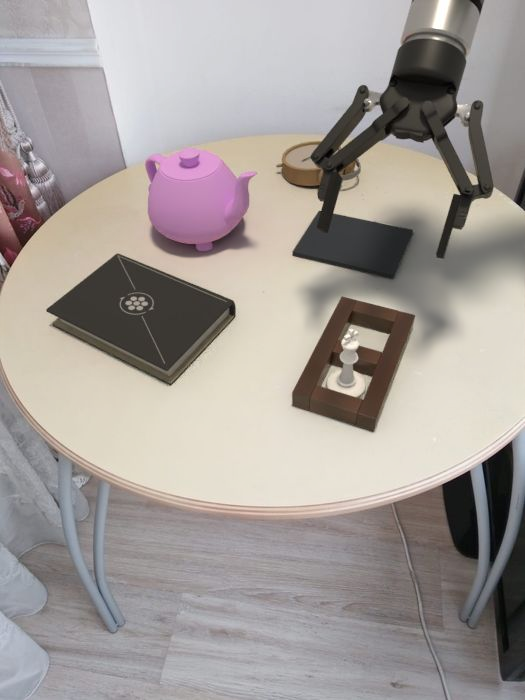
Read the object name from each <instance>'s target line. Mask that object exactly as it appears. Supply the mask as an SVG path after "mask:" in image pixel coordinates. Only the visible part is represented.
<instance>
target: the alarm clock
mask: <svg viewBox="0 0 525 700" xmlns="http://www.w3.org/2000/svg"><path fill="white" fill-rule="evenodd" d="M321 142H322V140H312V141H305V142H300V143H298V144H295V145H293V146H290V147H289V148H287V149H286V150H285V151H284V152H283V153H282V155H281V163H278V164H276V165H275V166H276V168H282V175H283V177H284V179H285V180H286V181H288V182H289V183H292V184H293V185H297V186H298V185H299V186H305V187H312V186H313V187H315V186H316V187H317V186H320V182H321V178H322V174H323V170H322V169H320V168H318V167H317V166H316V165H315V164H314V162H313V161H312V160H311V154H312V153H313V151H314V150H315V149H316V148H317V147H318V145H319V144H320V143H321ZM342 148H343V147H342V146H340V147H339V148H338V150H337V151H336V152H335V153H337V152H338V151H339V150H340V149H342ZM335 153H334V154H335ZM334 154H333V155H334ZM356 167H357V169H356V170H355V168H356ZM361 170H362V165H361V162H360V160H359V158H357V159H356V160H355V161H353V162H352V163H351V164H350V165H348V166H347V167H346V168H344V169H343V170H342V171H341V172H339V174H340V176H341V177H342V182H343V181H349V180H352V179H354V178H356V177H358V176H359V175H360V174H361Z"/></svg>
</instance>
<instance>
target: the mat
mask: <svg viewBox="0 0 525 700" xmlns="http://www.w3.org/2000/svg"><path fill="white" fill-rule="evenodd" d="M320 213H321V210H318V211H317V213H316V215H314V217H313V219H312V220H311V222H310V223H309V225H308V227H307V228H306V230H305V231H304V233H303V234H302V236H301V237H300V239H299V241H298V242H297V244H296V245H295V246H294V248H293V250H292V256H293V257H297V258H302V259H305V260H310V261H314V262H319V263H322V264H326V265H330V266H335V267H340V268H344V269H347V270H352V271H357V272H361V273H366V274H370V275H374V276H378V277H382V278H387V279H391V280H394V278H395V276H396V274H397V272H398V269H399V267H400V264H401V262H402V261H403V257H404V255H405V253H406V251H407V250H408V246H409V244H410V242H411V240H412V238H413V235H414V229H410V228H407V227H402V226H397V225H391V224H387V223H383V222H377V221H372V220H368V219H362V218H357V217H353V216H348V215H343V214H338V213H334V212H333V216H332V220H331V223H330V227H329V231H328V233H324V232H321V231H320V230H319V229H318V228H317V224H318V220H319V217H320Z"/></svg>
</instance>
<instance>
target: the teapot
mask: <svg viewBox="0 0 525 700" xmlns="http://www.w3.org/2000/svg"><path fill="white" fill-rule="evenodd" d="M156 164H157V165H158V168H157V165H156ZM144 165H145V171H146V173H147V174H146V175H147V177H148V179H149V182H150V184H149V186H148V197H147V215H148V218H149V221H150V224H151V225H152V227H154V229H155V230H156V231H157V232H159V233H160V234H161V235H163V236H164V238H166V239H169V240H172V241H175V242H178V243H182V244H189V245H195V249H196V250H197V251H199V252H207V251H211V249H212V248H213V247H214V245H213V242H215V241H218V240H220V239H221V238H223V237H225V236H227V235H228V234H229V233H231V232H232V231H233V230H234V229H235V228H236V227H237V226H238V224H239V223H240V222H241V221H242V219H243V217H244V216H245V215H246V214H247V213H248V210H249V208H250V200H251V199H250V192H249V183H250V181H251V179H252V178H254V177H255V176H256V175H258V171H254V170H253V171H246V172H243V173H241V174H239V176H238V177H237V176H236V175H235V174H234V172H233V171H232V170H231V168H230V167H229V166H228V165H227V164H226V162H225V161H224V160H223V159H221V157H220V156H219V155H217V154H216V153H214V152H211V151H209V150H204V149H197V148H194V147H187V148H183V149H181V150H179V151H177V152H174V153H172V154H170V155H169V156H167V157H166V156H165V155H163V154H160V153H153V154H151V155H149V156H148V157H147V158H146V159H145V164H144Z"/></svg>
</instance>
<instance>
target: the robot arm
mask: <svg viewBox="0 0 525 700" xmlns="http://www.w3.org/2000/svg"><path fill="white" fill-rule="evenodd" d="M484 3H485V0H411V3H410V5H409V9H408V12H407V15H406V16H407V17H406V20H405V24H404V27H403V30H402V33H401V37H400V47H399V48H398V49H397V53H396V56H395V60H394V63H393V67H392V69H391V74H390V77H389V81H388V85H387V87H386V88H385V90H384V91H383V92H382V93H381V92H377V91H373V90H369V87H368V86H367V85H366V84H361V85H359V87H358V88H357V90H356V93H355V95H354V98H353V100H352V102H351V104H350V105H349V107H348V108H347V109H346V110H345V112H344V113H343V114H342V116H340V118H339V119H338V120H337V122H335V124H334V125H333V127H332V128H331V129H330V130H329V132H328V133H327V134H326V135H325V137H324V138H322V140H321V141H322V142H321V143H320V144H319V145H318V147H317V148H316V149H315V150H314V151H313V153H312V154H311V160H312V161H313V162H314V164H315V165H316V166H317V167H318V168H320V169H322V170H323V174H322V178H321V182H320V185H318V188H317V189H318V190H317V192H316V193H317V194H316V195H317V199H318V200H319V202H322V206H321V209H320V211H321V213H320V217H319V220H318V224H317V228H318V229H319V230H320V231H321V232H324V233H328V231H329V227H330V223H331V220H332V216H333V213H334V211H335V209H336V205H337V201H338V198H339V193H340V190H341V187H342V183H343V181H342V177H341V176H340V174H339V172H341V171H342V170H343V169H344V168H346V167H347V166H348V165H350V164H351V163H352V162H353V161H355V160H356V159H359V158H360V157H362V156H363V155H364V154H365V153H366V152H367V151H369V150H370V149H372V148H373V147H374V146H375V145H377V144H378V143H379V142H381V141H384V140H386V139H387V138H388V137H389V136H391V135H392V136H393V137H395V139H396V140H397V139H398V140H412V141H414V142H417V143H422V144H424V143H425V142H427V141H429V140H432V142H433V144H434V146H435V148H436V150H437V151H438V153H439V155H440V157H441V159H442V161H443V163H444V165H445V168H446V169H447V171H448V173H449V176H450V177H451V179H452V181H453V183H454V185H455V187H456V189H457V191H458V193H459V194H458V193H453V195H452V198H451V202H450V204H449V208H448V212H447V215H446V218H445V222H444V225H443V229H442V233H441V236H440V238H439V241H438V245H437V249H436V253H435V255H436V258H438V259H441V260H444V259H445V256H446V252H447V249H448V245H449V242H450V240H451V235H452V232H453V229H455V230H460V231H462V230H463V228H464V227H465V226H466V222H467V219H468V216H469V212H470V208H471V206H472V203H473V202H474V201H475V200H480V199H483V200H484V199H485V200H486V199H489V198H491V197H492V195H493V192H494V181H493V176H492V171H491V167H490V162H489V161H490V160H489V156H488V152H487V147H486V142H485V137H484V132H483V128H482V119H483V114H484V113H483V112H484V101H482V100H479V99H477V100H474V101H473V102H472V103H471V104H469V103H468V104H467V103H466V104H465V103H464V104H463V103H458V102H457V97H458V94H459V91H460V86H461V83H462V80H463V76H464V74H465V69H466V66H467V57H468V56H469V54H470V52H471V49H472V45H473V41H474V39H475V35H476V31H477V27H478V24H479V20H480V17H481V13H482V10H483V7H484ZM376 106H379V107H380V109H381V112H382V114H380V115H379V116H378V117H376V118H375V119H374V120H373V121H372V123H371V124H370V125H369V126H368V127H366V129H364V130H363V131H362V132H360V133H359V134H358V135H357V136H356V137H354V138H353V139H351V140H350V141H349V142H347V143H346V144H345V145H344V146H343V147H342V145H343V143H344V142H345V141H347V138H349V136H350V135H351V134H352V133H353V131H354V130H355V129H356V127H358V125H359V124H360V123H361V122H362V121H363V119H364V117H365V115H366V114H367V113H370V112H371V111H372V110H373V109H374V108H375V107H376ZM455 118H459V119H460V122H461V123H460V124H462V126H463V127H465V128H468V129H467V131H468V132H467V135H468V141H469V146H470V151H471V155H472V160H473V165H474V170H475V174H476V175H475V176H476V180H477V184H476V183H475V184H473V182H472V180H471V179H470V177H469V175H468V173H467V172H466V169H465V167H464V164H463V163H462V161H461V159H460V157H459V155H458V153H457V151H456V149H455V147H454V145H453V143H452V141H451V139H450V138H449V135H448V133H447V129H446V128H445V127H447V125H449V124H450V123H451V122H452V121H454V120H455ZM339 147H341V148H342V149H340V150H339V151H338V152H337V153H335V152H336V151H337V150H338V148H339ZM334 153H335V154H334ZM333 154H334V155H333ZM344 170H345V169H344Z"/></svg>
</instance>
